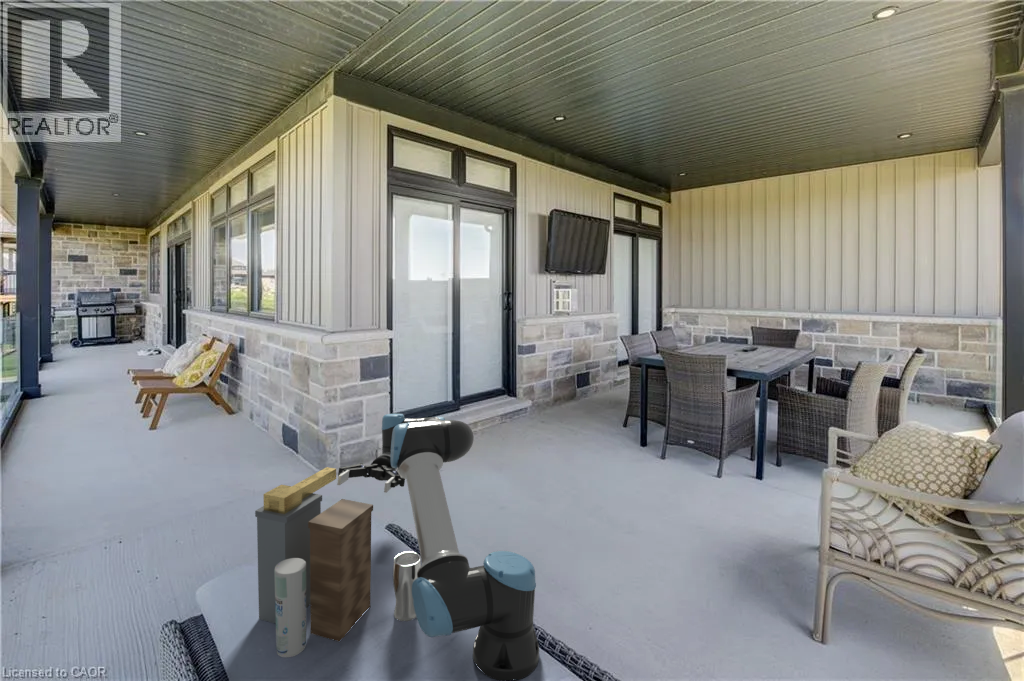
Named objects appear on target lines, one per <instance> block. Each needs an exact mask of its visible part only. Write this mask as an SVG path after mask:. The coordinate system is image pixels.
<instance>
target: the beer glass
mask: <svg viewBox="0 0 1024 681" xmlns="http://www.w3.org/2000/svg"><path fill="white" fill-rule="evenodd" d="M421 565H422V561H421V555H420V554H419V553H417V552H414V551H403V552H401V553H398V554H397V555H395V557H394V558H393V566H392V583H393V584H392V586H393V590H394V596H395V606H394V610H393V617H394V619H396V620H397V619H398V620H397V621H399V620H400V621H399V622H403V621H406V622H411V621H413V620H414V619H417V617H416V613H415V609H414V604H413V597H412V584H413V581H414V580H415V579H417V572H418V570H419V568H420V567H421Z"/></svg>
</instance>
